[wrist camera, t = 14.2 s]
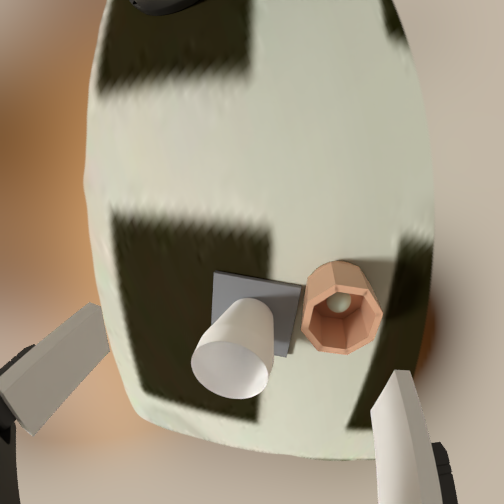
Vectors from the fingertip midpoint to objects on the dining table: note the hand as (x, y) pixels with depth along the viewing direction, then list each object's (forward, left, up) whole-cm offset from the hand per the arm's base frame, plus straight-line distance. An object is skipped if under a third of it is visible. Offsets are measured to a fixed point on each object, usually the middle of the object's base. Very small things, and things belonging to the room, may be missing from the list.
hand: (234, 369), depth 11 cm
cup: (+14, -3, -26) cm, 29 cm away
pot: (+8, +8, -26) cm, 29 cm away
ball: (+8, +8, -24) cm, 26 cm away
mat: (+14, -3, -26) cm, 30 cm away
